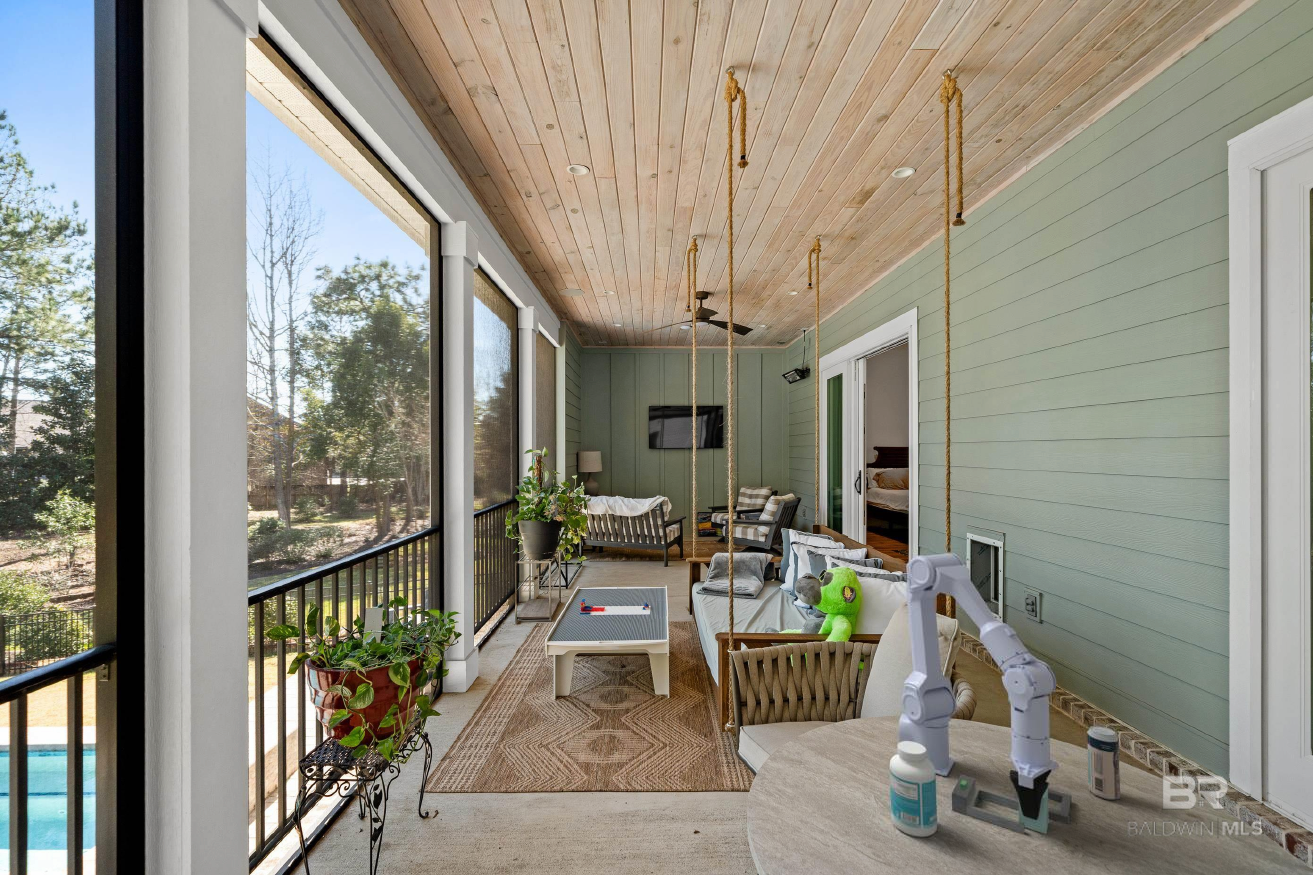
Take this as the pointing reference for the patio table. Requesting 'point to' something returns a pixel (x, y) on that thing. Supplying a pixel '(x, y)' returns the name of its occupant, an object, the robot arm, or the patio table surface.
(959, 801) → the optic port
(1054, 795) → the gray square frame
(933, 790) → the pill bottle
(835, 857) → the patio table surface
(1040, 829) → the plug
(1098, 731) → the supplement canister
